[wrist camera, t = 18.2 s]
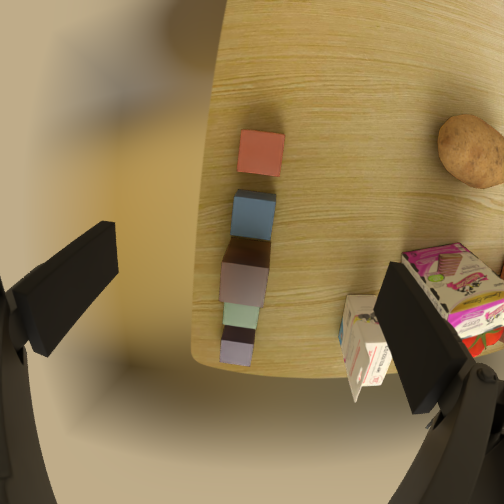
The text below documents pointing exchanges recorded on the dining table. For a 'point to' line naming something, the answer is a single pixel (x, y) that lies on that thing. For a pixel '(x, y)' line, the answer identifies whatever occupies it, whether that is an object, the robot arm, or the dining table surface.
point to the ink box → (363, 343)
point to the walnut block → (245, 272)
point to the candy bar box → (459, 287)
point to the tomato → (482, 341)
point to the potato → (472, 151)
